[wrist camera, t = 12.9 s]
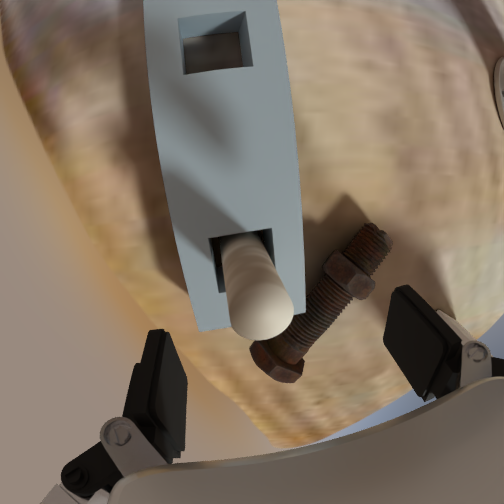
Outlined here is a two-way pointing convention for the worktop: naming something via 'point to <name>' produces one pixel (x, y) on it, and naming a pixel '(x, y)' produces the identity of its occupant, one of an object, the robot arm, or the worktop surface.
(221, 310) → the hole block
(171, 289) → the worktop surface
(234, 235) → the peg
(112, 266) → the worktop surface
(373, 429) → the robot arm
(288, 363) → the bolt
